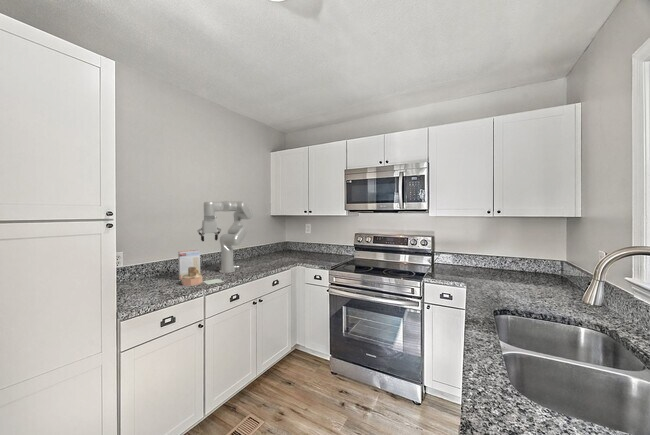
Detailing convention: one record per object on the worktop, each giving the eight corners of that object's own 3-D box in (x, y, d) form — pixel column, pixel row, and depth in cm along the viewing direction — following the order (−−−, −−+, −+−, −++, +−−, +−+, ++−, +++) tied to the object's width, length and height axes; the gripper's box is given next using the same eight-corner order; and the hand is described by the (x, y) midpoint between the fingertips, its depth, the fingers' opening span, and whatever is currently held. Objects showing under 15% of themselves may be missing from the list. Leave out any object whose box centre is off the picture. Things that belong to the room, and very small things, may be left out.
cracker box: (198, 276, 208) (198, 249, 207) (200, 277, 203) (200, 250, 203) (178, 279, 199) (178, 251, 199) (180, 280, 195) (179, 252, 194)
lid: (198, 273, 194) (198, 265, 194) (204, 277, 185) (203, 267, 185) (180, 276, 186) (180, 267, 186) (185, 279, 177) (184, 270, 177)
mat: (218, 279, 198) (218, 278, 198) (224, 282, 190) (224, 281, 189) (202, 282, 190) (202, 281, 190) (207, 285, 182) (207, 284, 182)
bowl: (198, 280, 194) (198, 273, 194) (204, 284, 185) (203, 276, 185) (180, 283, 186) (180, 276, 186) (185, 287, 177) (185, 279, 177)
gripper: (219, 217, 210) (219, 239, 210) (195, 218, 198) (195, 241, 199) (222, 218, 204) (222, 240, 205) (198, 218, 193) (199, 242, 193)
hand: (209, 240), depth 202 cm, fingers open, 9 cm apart
